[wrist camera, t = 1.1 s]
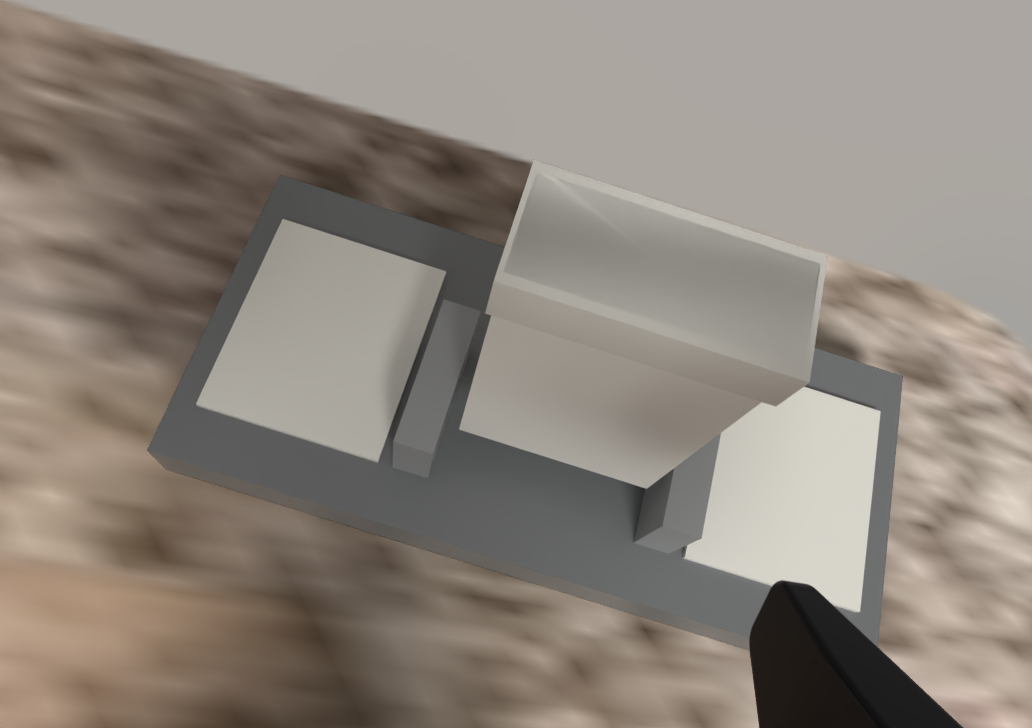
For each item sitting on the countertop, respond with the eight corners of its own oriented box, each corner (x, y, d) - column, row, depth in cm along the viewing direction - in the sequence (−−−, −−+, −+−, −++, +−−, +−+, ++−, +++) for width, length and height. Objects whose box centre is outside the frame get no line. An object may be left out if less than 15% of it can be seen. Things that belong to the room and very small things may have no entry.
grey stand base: (836, 677, 23) (933, 675, 19) (166, 469, 23) (116, 421, 19) (867, 397, 27) (954, 345, 23) (287, 210, 26) (269, 121, 22)
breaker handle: (649, 497, 21) (809, 382, 13) (452, 435, 20) (494, 280, 13) (667, 411, 21) (827, 255, 14) (480, 352, 21) (534, 159, 14)
